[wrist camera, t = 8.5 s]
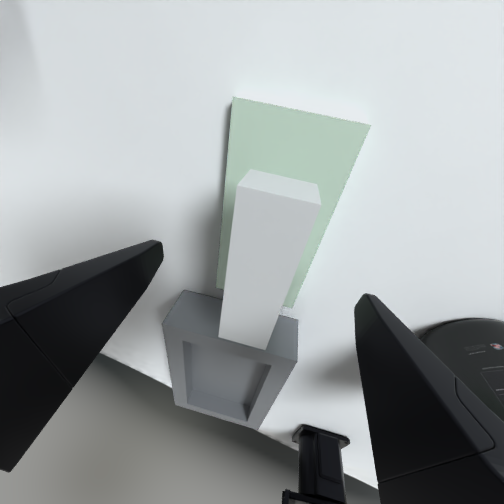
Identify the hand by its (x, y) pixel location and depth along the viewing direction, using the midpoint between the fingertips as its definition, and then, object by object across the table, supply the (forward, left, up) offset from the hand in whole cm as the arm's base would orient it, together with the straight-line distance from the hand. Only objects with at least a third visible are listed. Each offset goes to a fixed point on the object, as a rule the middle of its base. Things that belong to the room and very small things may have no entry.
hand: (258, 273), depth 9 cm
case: (-16, +1, -5) cm, 17 cm away
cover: (0, 0, -5) cm, 5 cm away
